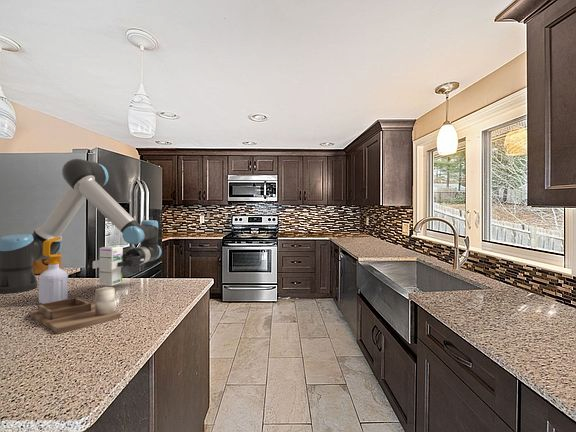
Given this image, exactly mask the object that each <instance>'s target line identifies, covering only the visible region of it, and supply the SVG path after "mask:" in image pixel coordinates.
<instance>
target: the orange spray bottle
mask: <svg viewBox="0 0 576 432" xmlns="http://www.w3.org/2000/svg"><path fill="white" fill-rule="evenodd" d="M58 254H60V255H61V251H60V252H59V253H58ZM50 262H51V259H50V258H48V259H43V260H38V261H33V272H34V274H35V275H40V274H41V273H43V272H44V271H46V270H47V269H48V268H49V263H50ZM57 262H59V268H60V269H62V256H58V259H57Z"/></svg>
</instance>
